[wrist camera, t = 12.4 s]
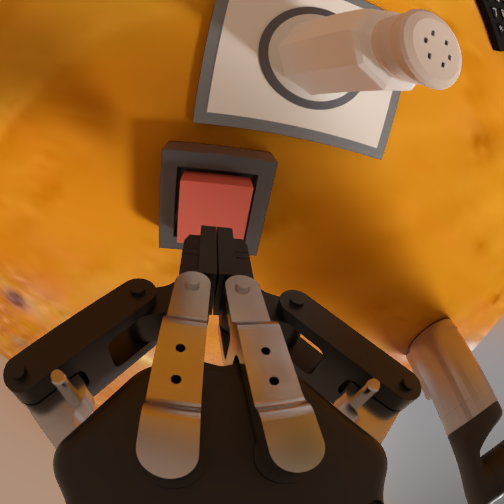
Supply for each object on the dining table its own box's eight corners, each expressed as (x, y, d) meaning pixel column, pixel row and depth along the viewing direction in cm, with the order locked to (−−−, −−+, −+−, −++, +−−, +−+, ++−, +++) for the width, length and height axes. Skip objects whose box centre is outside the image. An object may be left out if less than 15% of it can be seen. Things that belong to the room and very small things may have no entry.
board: (377, 157, 19) (383, 161, 18) (193, 121, 16) (192, 123, 16) (408, 27, 12) (415, 26, 12) (225, -34, 10) (226, -38, 9)
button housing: (252, 237, 22) (256, 255, 20) (164, 229, 21) (159, 247, 19) (270, 152, 18) (277, 162, 16) (169, 141, 17) (162, 149, 15)
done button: (239, 233, 19) (241, 248, 18) (179, 228, 18) (176, 242, 17) (250, 177, 17) (253, 187, 16) (183, 170, 16) (180, 180, 15)
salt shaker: (362, 38, 13) (491, 31, 4) (346, 106, 16) (469, 152, 7) (285, 12, 12) (373, -56, 3) (269, 85, 15) (345, 91, 6)
